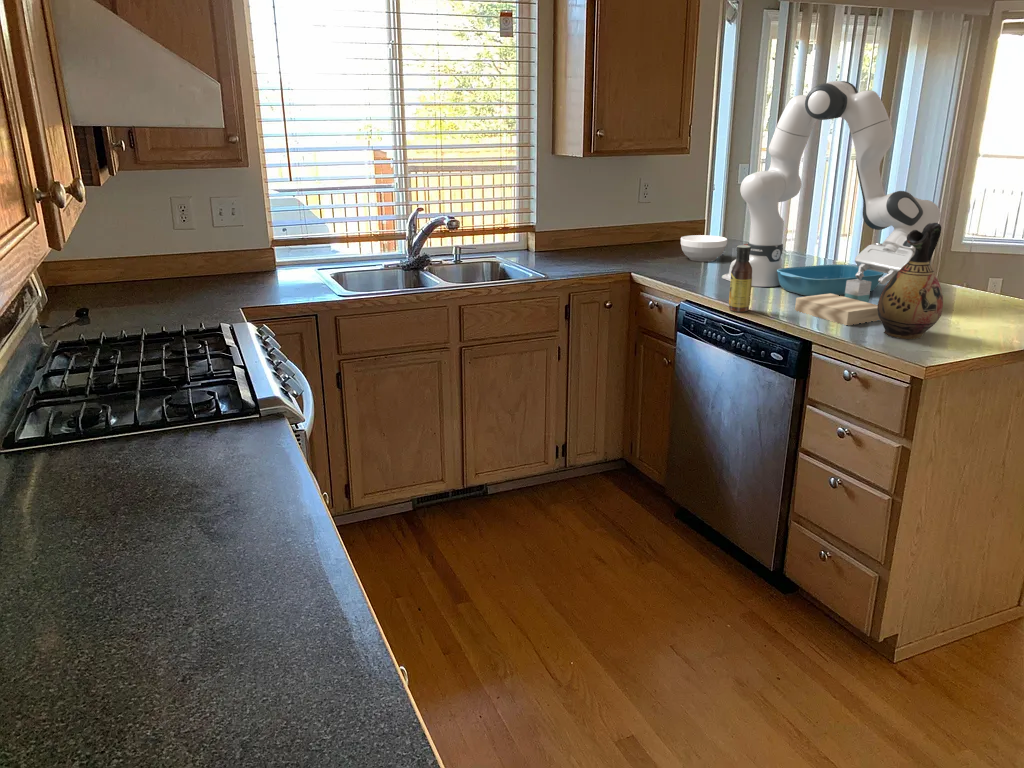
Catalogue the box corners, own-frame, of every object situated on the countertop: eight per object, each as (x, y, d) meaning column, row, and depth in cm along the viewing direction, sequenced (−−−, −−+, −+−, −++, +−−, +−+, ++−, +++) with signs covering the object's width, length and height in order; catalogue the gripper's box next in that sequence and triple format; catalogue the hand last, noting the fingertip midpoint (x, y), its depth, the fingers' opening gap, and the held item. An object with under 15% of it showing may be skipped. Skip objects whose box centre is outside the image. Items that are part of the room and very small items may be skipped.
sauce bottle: (733, 306, 237) (738, 243, 230) (752, 309, 233) (758, 245, 226) (724, 310, 232) (729, 246, 225) (743, 313, 228) (750, 248, 221)
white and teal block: (843, 305, 237) (846, 280, 234) (854, 303, 239) (858, 278, 236) (855, 308, 233) (859, 283, 230) (867, 307, 235) (871, 281, 232)
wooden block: (794, 310, 231) (796, 297, 230) (828, 305, 237) (830, 293, 235) (846, 325, 214) (848, 312, 213) (882, 320, 219) (884, 306, 218)
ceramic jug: (918, 346, 194) (939, 229, 184) (862, 333, 206) (879, 222, 196) (951, 335, 203) (972, 223, 194) (895, 324, 215) (912, 217, 205)
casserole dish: (845, 280, 274) (848, 261, 272) (894, 292, 254) (898, 271, 252) (761, 289, 262) (763, 268, 259) (806, 302, 242) (809, 280, 240)
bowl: (671, 257, 322) (672, 236, 319) (710, 254, 328) (711, 234, 325) (694, 264, 305) (695, 242, 302) (734, 261, 311) (736, 240, 308)
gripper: (868, 235, 242) (840, 268, 242) (920, 244, 224) (889, 279, 224) (877, 248, 245) (849, 280, 245) (929, 258, 227) (899, 293, 227)
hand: (868, 280), depth 234 cm, fingers open, 8 cm apart
